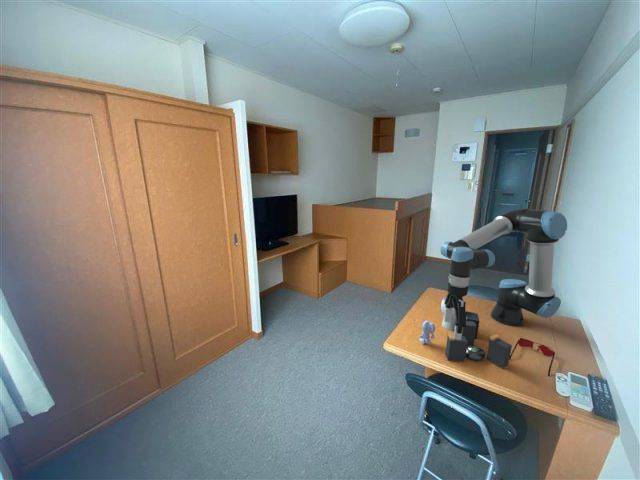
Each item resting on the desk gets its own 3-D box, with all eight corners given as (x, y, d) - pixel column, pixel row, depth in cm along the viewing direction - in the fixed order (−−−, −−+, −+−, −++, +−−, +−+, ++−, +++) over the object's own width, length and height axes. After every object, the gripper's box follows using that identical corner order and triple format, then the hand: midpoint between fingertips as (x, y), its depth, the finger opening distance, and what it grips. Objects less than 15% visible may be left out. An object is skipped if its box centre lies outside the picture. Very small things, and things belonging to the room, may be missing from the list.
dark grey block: (461, 355, 120) (464, 334, 117) (464, 361, 116) (468, 339, 113) (445, 354, 121) (447, 332, 118) (447, 360, 117) (450, 338, 114)
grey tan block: (470, 339, 131) (473, 319, 129) (473, 344, 127) (477, 324, 125) (455, 338, 132) (458, 318, 130) (458, 343, 129) (461, 323, 126)
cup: (456, 321, 148) (459, 296, 144) (464, 332, 138) (467, 306, 134) (436, 320, 149) (439, 296, 145) (442, 331, 139) (445, 305, 135)
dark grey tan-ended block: (508, 365, 113) (512, 343, 111) (502, 368, 112) (506, 345, 109) (491, 356, 120) (495, 334, 117) (486, 358, 118) (489, 336, 115)
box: (463, 328, 141) (465, 310, 138) (475, 331, 139) (478, 313, 136) (464, 336, 134) (466, 318, 132) (476, 339, 132) (479, 320, 129)
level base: (479, 348, 125) (480, 342, 124) (488, 362, 116) (489, 355, 115) (457, 346, 126) (458, 340, 125) (464, 360, 117) (465, 353, 116)
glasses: (554, 358, 119) (556, 348, 118) (549, 377, 108) (551, 366, 107) (516, 344, 129) (518, 335, 127) (508, 360, 118) (510, 350, 116)
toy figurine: (430, 338, 133) (432, 317, 130) (435, 346, 126) (437, 324, 124) (416, 338, 133) (418, 316, 130) (420, 346, 127) (422, 324, 124)
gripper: (440, 273, 123) (435, 314, 128) (458, 296, 99) (451, 346, 104) (457, 274, 122) (452, 315, 127) (480, 298, 98) (472, 348, 103)
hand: (452, 329), depth 115 cm, fingers open, 13 cm apart
